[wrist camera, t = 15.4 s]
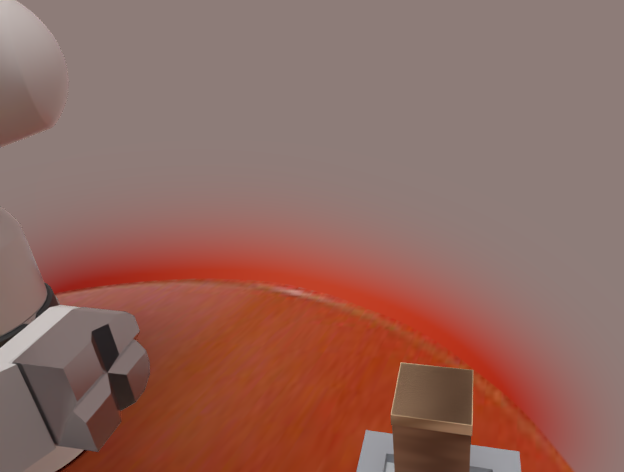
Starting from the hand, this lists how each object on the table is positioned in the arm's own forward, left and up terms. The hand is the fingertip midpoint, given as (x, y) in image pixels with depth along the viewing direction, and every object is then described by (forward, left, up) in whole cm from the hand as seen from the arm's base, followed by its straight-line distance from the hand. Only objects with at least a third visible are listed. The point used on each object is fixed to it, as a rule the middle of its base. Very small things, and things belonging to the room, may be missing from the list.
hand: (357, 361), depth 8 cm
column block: (0, +18, -30) cm, 35 cm away
